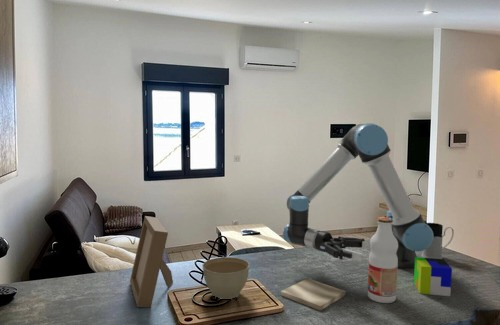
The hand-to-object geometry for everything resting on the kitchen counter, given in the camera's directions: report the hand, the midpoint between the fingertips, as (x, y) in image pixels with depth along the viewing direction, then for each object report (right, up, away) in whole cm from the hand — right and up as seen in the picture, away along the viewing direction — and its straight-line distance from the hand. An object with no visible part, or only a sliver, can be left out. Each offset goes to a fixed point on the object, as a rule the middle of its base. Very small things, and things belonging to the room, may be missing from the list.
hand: (371, 253), depth 134 cm
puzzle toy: (+24, -15, +7) cm, 29 cm away
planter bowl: (-51, -15, 0) cm, 53 cm away
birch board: (-20, -15, 0) cm, 25 cm away
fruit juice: (+3, -15, -1) cm, 16 cm away
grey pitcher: (+44, -12, +43) cm, 63 cm away
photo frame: (-75, -14, +1) cm, 77 cm away
